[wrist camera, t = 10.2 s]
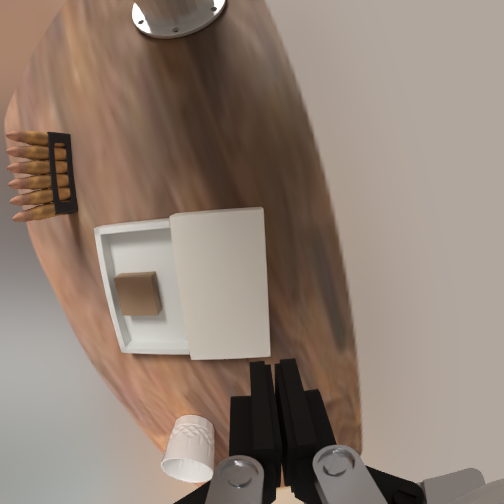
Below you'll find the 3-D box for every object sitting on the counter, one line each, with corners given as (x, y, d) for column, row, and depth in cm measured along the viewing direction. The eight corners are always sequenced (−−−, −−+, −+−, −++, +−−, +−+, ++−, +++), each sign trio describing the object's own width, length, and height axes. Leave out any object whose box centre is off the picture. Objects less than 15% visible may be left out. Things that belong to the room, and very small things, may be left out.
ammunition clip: (78, 211, 32) (19, 226, 20) (68, 214, 32) (9, 230, 20) (70, 133, 29) (11, 123, 18) (60, 138, 29) (1, 129, 18)
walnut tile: (150, 276, 31) (155, 271, 33) (113, 278, 31) (120, 273, 33) (157, 315, 33) (162, 308, 35) (122, 315, 33) (127, 308, 35)
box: (103, 225, 32) (93, 228, 30) (174, 217, 32) (169, 220, 30) (127, 343, 36) (121, 352, 34) (192, 344, 37) (189, 354, 34)
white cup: (190, 405, 39) (180, 452, 30) (227, 427, 41) (224, 473, 31) (163, 423, 41) (151, 466, 31) (199, 444, 42) (193, 486, 32)
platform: (176, 213, 32) (169, 216, 29) (261, 206, 32) (263, 209, 29) (194, 347, 37) (191, 359, 34) (268, 343, 37) (270, 356, 34)
